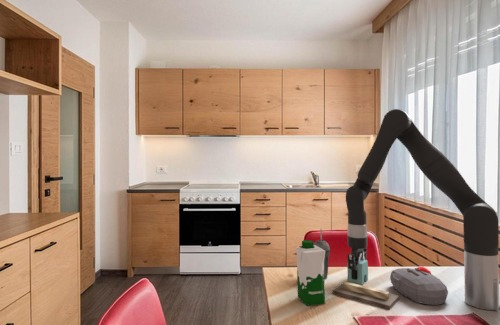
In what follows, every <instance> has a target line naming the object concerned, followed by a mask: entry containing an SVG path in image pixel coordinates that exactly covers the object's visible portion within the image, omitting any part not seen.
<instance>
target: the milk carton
mask: <svg viewBox="0 0 500 325" xmlns="http://www.w3.org/2000/svg"><path fill="white" fill-rule="evenodd" d="M295 250H296V268H297V269H296V271H297V272H296V274H297V275H296V276H297V277H296V279H297V280H296V283H297V288H296V289H297V298H298V299H299V300H300V301H301V302H302V303H303V304H304V305H305V306H306V307H308V306H314V305H315V306H317V305H322V304H326V294H325V291H326V290H325V280H324V258H325V252H326V251H325V250H323V249H322V248H320V247H318V246H316V245H314V241H313V240H311V239H310V240H309V239H304V240H302V241H301V246H300V245H299V246H295Z"/></svg>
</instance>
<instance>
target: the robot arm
mask: <svg viewBox="0 0 500 325" xmlns="http://www.w3.org/2000/svg"><path fill="white" fill-rule="evenodd" d="M396 140H398V141H399V142H400V143H401V144H402V145H403V146H404V147H405V148H406V150H407V151H408V153H409V154H410V156H411V158H412V160H413V161H414V163H415V164H416V165H417V167H418V168H419V170H420V171H421V172H422V173H423V175H424V176H425V177H426V178H427V179H428V180H429V181H430V182H431V184H432V185H434V186H435V187H436V188H437V189H439V191H441V192H442V193H443V194H444V195H445V196H447V197H448V198H449V199H450V201H451V202H452V203H453V204H454V205H455V207H456V208H457V210H459V212H460V213H461V215H462V218H463V221H462V222H463V224H462V225H463V252H464V253H463V257H464V258H463V259H464V260H463V261H464V262H463V265H464V266H463V268H464V302H465V303H466V304H468V305H469V306H471V307H474V308H477V309H481V310H488V311H496V312H498V311H499V309H500V276H499V245H500V244H499V238H500V237H499V234H500V233H499V232H500V231H499V228H500V227H499V216H498V214H497V212H496V210H495V208H493V207H492V206H491V205H490V204H488V203H487V202H486V201H485V200H484V199H483V198H482V197H481V196H480V195H478V194H477V193H476V192H475V191H474V190H473V189H472V188H471V187H470V185H469V184H468V183H467V182H466V180H465V178H464V177H463V176H462V174H461V172H460V171H459V170H458V169H457V167H456V166H455V165H454V164H453V163H452V161H451V160H450V159H449V158H448V157H447V156H446V155H445V154H444V153H443V151H441V150H440V149H439V148H438V147H437V146H436V145H435V144H433V142H431V141H430V140H429V139H428V138H426V137H425V135H424V134H423V133H422V132H421V131H420V130H419V128H418V127H417V126H416V124H415V123H414V121H413V119H412V118H411V116H410V115H409V114H408V113H407V112H406V111H404V110H402V109H399V108H393V109H390V110H389V111H388V112H386V114H384V117H383V119H382V122H381V125H380V127H379V130H378V134H377V135H376V138H375V141H374V142H373V144H372V147H371V148H370V150H369V152H368V154H367V156H366V158H365V160H364V161H363V163H362V165H361V167H360V168H359V170H358V173H357V178H356V180H355V182H354V184H353V185H351V186H350V187H348V188H347V190H346V192H345V203H346V208H347V228H346V229H347V231H346V232H347V246H348V247H349V248H351V250H350V253H347V256H346V257H347V261H348V265H347V269H348V268H349V269H351V278H352V279H355V280H357V279H358V273H357V269H358V264H359V263H360V260H367V258H368V254H367V253H368V228H367V211H366V210H365V204H364V203H365V200H366V199H367V197H368V196H369V194H370V192H371V190H372V187H373V185H374V183H375V181H376V180H377V178H378V176H379V174H380V173H381V171H382V169H383V166H384V165H385V163H386V160H387V157H388V155H389V153H390V150H391V148H392V146H393V144H394V143H395V142H396ZM355 261H357V262H355ZM355 264H356V266H355Z"/></svg>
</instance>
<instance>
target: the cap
mask: <svg viewBox="0 0 500 325" xmlns="http://www.w3.org/2000/svg"><path fill="white" fill-rule="evenodd" d="M416 268H417V269H418V270H421V271H423V272H426V273H429V274H432V272H431V271H430V270H429V269H428V268H427V267H424V266H418V267H416Z"/></svg>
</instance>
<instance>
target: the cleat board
mask: <svg viewBox="0 0 500 325" xmlns="http://www.w3.org/2000/svg"><path fill="white" fill-rule="evenodd" d="M332 294H333V295H336V296H340V297H344V298H347V299H351V300H355V301H358V302H361V303H365V304H369V305H372V306H375V307H376V306H377V307H380V308H383V309H386V310H391V309H392V308H393V307H394V306H395V305H396V303H397V302H398V301H400V295H397V294H394V293H390V291H387V290H383V289H378V288H374V287H369V286H366V285H362V284H358V283H353V282H349V281H343V282H342V284H340V285H338V286H337V287H335V288H333V289H332Z"/></svg>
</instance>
